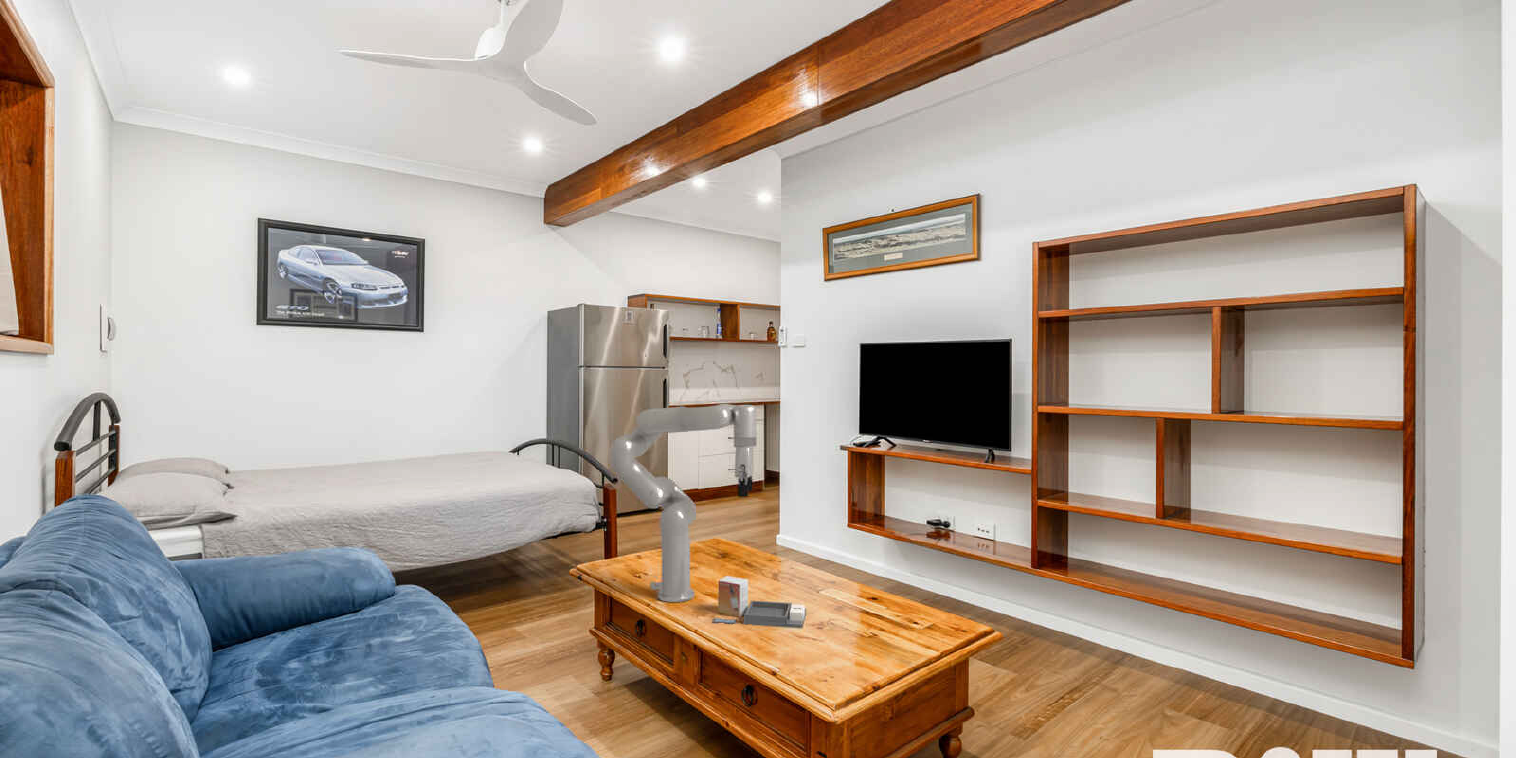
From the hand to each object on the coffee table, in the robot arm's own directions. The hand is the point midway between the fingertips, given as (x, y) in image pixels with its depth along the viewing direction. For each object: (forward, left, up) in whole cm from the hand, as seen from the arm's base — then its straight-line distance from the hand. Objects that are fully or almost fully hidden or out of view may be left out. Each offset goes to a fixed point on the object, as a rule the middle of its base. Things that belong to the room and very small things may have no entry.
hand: (745, 493), depth 224 cm
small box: (-2, -10, -36) cm, 38 cm away
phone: (-3, -18, -37) cm, 41 cm away
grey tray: (+12, -13, -36) cm, 40 cm away
